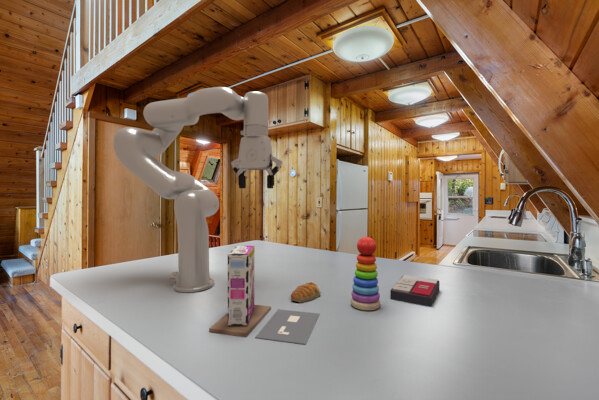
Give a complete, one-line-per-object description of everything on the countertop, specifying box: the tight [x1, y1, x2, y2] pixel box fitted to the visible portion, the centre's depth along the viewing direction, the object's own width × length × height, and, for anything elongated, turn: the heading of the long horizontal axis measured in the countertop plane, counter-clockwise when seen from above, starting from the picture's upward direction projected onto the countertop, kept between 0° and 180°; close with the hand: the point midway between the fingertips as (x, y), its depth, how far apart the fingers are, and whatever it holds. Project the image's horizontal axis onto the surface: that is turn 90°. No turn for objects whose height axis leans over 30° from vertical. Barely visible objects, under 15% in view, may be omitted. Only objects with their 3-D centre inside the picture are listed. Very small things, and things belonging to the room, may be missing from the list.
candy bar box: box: [227, 245, 255, 326], centre depth 71 cm, size 11×5×16 cm, turn 1°
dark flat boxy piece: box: [389, 274, 440, 308], centre depth 87 cm, size 11×4×15 cm
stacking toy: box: [349, 236, 381, 311], centre depth 79 cm, size 8×8×19 cm
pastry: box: [290, 281, 322, 303], centre depth 85 cm, size 9×7×4 cm
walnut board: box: [208, 304, 272, 338], centre depth 71 cm, size 9×15×1 cm, turn 165°
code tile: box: [254, 308, 320, 345], centre depth 68 cm, size 11×15×1 cm
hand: (256, 188), depth 91 cm, fingers open, 9 cm apart
